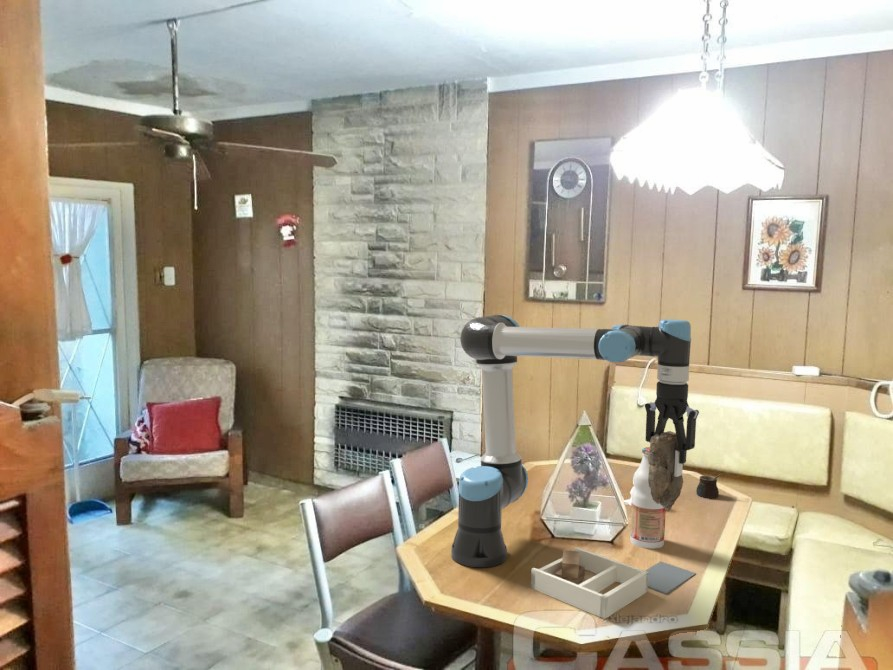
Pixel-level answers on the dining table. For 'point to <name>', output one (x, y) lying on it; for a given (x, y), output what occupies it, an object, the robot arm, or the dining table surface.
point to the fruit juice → (646, 510)
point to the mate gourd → (708, 487)
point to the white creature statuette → (631, 497)
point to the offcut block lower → (573, 580)
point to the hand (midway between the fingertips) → (668, 472)
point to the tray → (593, 584)
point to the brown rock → (664, 469)
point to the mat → (666, 577)
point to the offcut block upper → (570, 564)
